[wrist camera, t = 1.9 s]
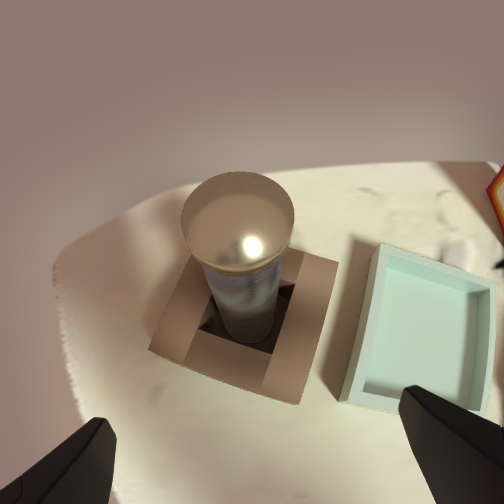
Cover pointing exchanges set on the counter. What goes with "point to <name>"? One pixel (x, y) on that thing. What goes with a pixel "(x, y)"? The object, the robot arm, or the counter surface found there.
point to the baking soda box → (498, 196)
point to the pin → (240, 246)
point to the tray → (422, 334)
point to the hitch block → (242, 357)
